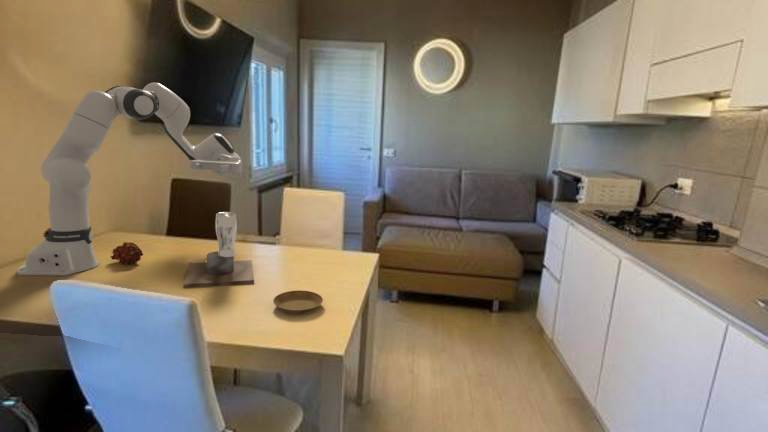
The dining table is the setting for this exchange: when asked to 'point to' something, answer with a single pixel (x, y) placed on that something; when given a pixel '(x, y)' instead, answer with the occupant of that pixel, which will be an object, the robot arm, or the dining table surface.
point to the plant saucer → (298, 302)
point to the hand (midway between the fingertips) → (209, 167)
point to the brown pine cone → (127, 253)
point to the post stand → (219, 272)
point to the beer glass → (226, 233)
